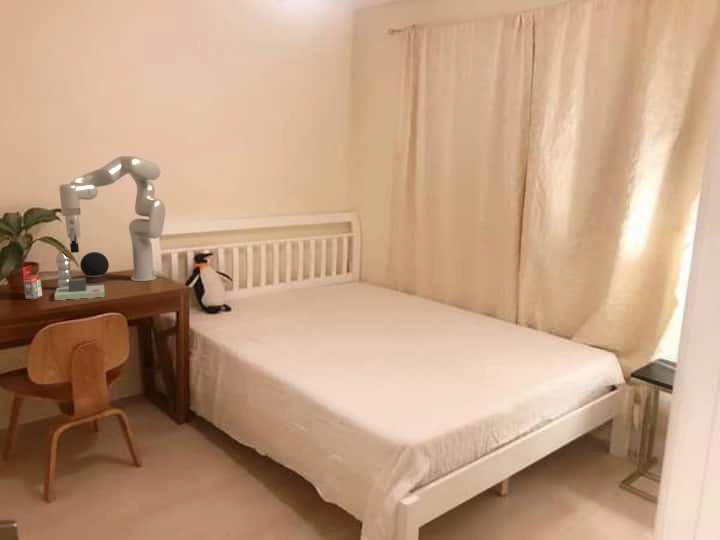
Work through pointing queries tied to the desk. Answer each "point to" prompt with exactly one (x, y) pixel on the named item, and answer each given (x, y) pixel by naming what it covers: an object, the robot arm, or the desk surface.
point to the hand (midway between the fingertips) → (74, 252)
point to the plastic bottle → (63, 269)
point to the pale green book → (79, 293)
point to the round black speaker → (94, 267)
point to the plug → (77, 284)
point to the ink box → (31, 284)
